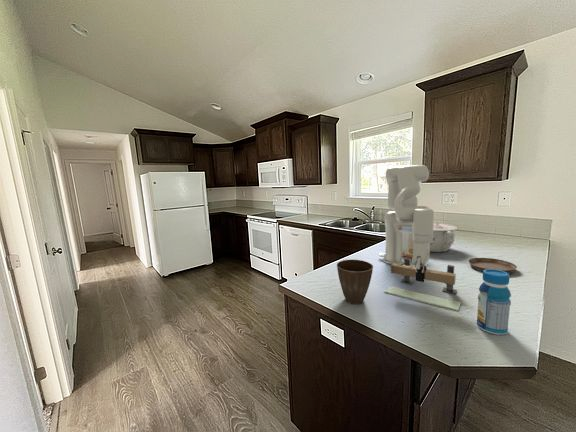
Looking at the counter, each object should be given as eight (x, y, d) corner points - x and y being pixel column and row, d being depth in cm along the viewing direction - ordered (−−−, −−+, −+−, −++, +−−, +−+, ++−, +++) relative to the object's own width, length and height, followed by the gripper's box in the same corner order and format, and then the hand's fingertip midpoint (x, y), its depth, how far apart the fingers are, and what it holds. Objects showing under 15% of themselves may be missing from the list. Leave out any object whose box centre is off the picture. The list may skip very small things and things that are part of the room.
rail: (391, 272, 112) (391, 265, 111) (393, 270, 114) (393, 263, 114) (454, 285, 96) (454, 276, 96) (455, 282, 99) (455, 273, 99)
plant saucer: (472, 273, 131) (473, 267, 131) (464, 261, 150) (464, 256, 149) (523, 278, 122) (524, 271, 122) (508, 264, 141) (508, 259, 140)
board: (384, 292, 113) (384, 291, 113) (389, 287, 119) (389, 286, 118) (458, 311, 95) (458, 309, 95) (460, 303, 101) (460, 302, 101)
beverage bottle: (498, 338, 79) (504, 279, 76) (470, 325, 86) (474, 270, 83) (513, 331, 82) (519, 274, 79) (485, 319, 90) (489, 266, 87)
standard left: (397, 285, 120) (397, 262, 118) (402, 279, 126) (403, 257, 125) (408, 288, 116) (409, 264, 115) (413, 281, 123) (414, 258, 121)
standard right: (440, 295, 108) (441, 269, 106) (443, 288, 115) (445, 263, 113) (454, 298, 105) (455, 271, 103) (456, 291, 112) (458, 265, 110)
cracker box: (420, 257, 160) (421, 225, 157) (416, 259, 156) (417, 226, 153) (399, 252, 171) (400, 223, 168) (394, 254, 167) (395, 224, 164)
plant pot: (378, 298, 108) (378, 263, 106) (363, 313, 97) (363, 274, 95) (347, 289, 118) (347, 257, 116) (330, 301, 107) (330, 266, 105)
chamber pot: (415, 243, 194) (415, 217, 191) (457, 247, 178) (459, 218, 175) (408, 252, 172) (409, 222, 169) (455, 258, 155) (457, 225, 153)
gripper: (417, 233, 112) (416, 272, 114) (407, 240, 99) (406, 284, 102) (436, 235, 107) (434, 275, 110) (428, 243, 94) (426, 288, 97)
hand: (421, 279), depth 106 cm, fingers closed on rail, 3 cm apart
